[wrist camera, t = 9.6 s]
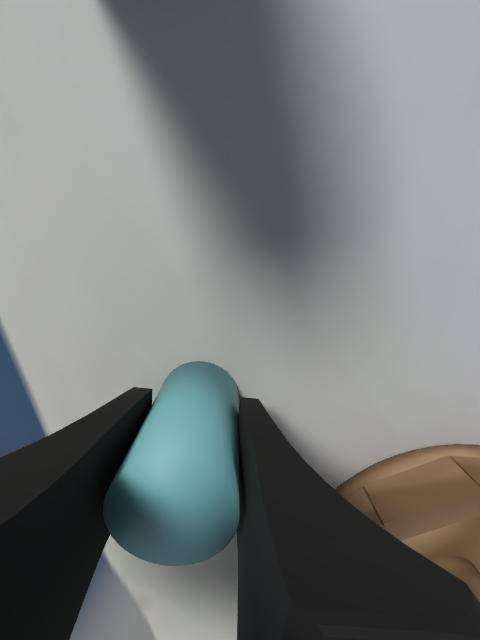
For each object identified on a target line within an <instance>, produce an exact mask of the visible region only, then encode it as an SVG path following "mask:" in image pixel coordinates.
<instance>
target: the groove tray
mask: <svg viewBox="0 0 480 640" xmlns="http://www.w3.org/2000/svg"><path fill="white" fill-rule="evenodd" d="M335 491H336V492H338V493H339V494H340V495H341V496H342V497H344V498H345V499H346V500H347V501H348V502H350V503H351V504H352V505H353V506H354V507H356V508H357V509H358V510H359V511H361V512H362V513H363V514H364V515H366V516H367V517H368V518H370V519H371V520H372V521H374V522H375V523H376V524H378V525H379V526H380V527H382V528H383V529H385V530H386V531H387V532H389V533H390V534H392V535H393V536H394V537H396V538H397V539H399V540H400V541H401V542H403V543H404V544H406V545H407V546H409V547H410V548H412V549H413V550H415V551H416V552H418V553H420V554H421V555H423V556H424V557H426V558H428V559H429V560H431V561H432V562H434V563H435V564H437V565H439V566H440V567H442V568H443V569H445V570H446V571H448V572H450V573H451V574H453V575H454V576H456V577H457V578H459V579H461V580H462V581H464V582H465V583H467V585H468V586H469V588H470V589H471V590H472V592H473V593H474V594H475V596H476V597H477V599H478V600H479V601H480V446H479V445H460V444H454V445H441V446H433V447H427V448H422V449H417V450H412V451H409V452H406V453H402V454H399V455H396V456H393V457H390V458H388V459H386V460H383V461H381V462H378V463H376V464H374V465H372V466H370V467H368V468H367V469H365V470H363V471H361V472H359V473H357V474H356V475H355V476H353V477H352V478H350V479H349V480H347V481H346V482H344V483H343V484H342V485H340V486H339V487H338V488H337V489H336V490H335Z"/></svg>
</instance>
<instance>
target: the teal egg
mask: <svg viewBox="0 0 480 640" xmlns="http://www.w3.org/2000/svg"><path fill="white" fill-rule="evenodd" d="M238 414H239V396H238V389H237V386H236V384H235V382H234V380H233V378H232V377H231V376H230V375H229V374H228V373H227V372H226V371H225V370H224V369H222V368H221V367H219V366H217V365H215V364H212V363H208V362H199V361H198V362H190V363H186V364H183V365H181V366H179V367H177V368H176V369H174V370H173V371H172V372H171V373H170V374H169V375H168V376H167V378H166V380H165V381H164V383H163V385H162V387H161V389H160V391H159V393H158V395H157V397H156V399H155V401H154V402H153V404H152V406H151V408H150V410H149V412H148V414H147V416H146V418H145V420H144V422H143V424H142V425H141V427H140V429H139V431H138V433H137V435H136V437H135V439H134V441H133V443H132V445H131V447H130V448H129V450H128V452H127V454H126V456H125V458H124V460H123V462H122V464H121V466H120V468H119V469H118V471H117V473H116V475H115V477H114V479H113V481H112V483H111V485H110V487H109V489H108V491H107V493H106V495H105V499H104V503H103V516H104V520H105V524H106V526H107V529H108V531H109V532H110V534H111V536H112V537H113V538H114V540H115V541H116V542H117V543H118V544H119V545H120V546H121V547H122V548H124V549H125V550H126V551H128V552H129V553H131V554H132V555H134V556H136V557H138V558H140V559H143V560H145V561H148V562H151V563H156V564H160V565H168V566H180V565H189V564H194V563H198V562H201V561H204V560H206V559H209V558H210V557H212V556H214V555H216V554H217V553H219V552H220V551H221V550H223V549H224V548H225V547H226V546H227V545H228V544H229V542H230V541H231V540H232V538H233V536H234V535H235V533H236V530H237V528H238V524H239V431H238Z"/></svg>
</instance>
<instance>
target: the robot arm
mask: <svg viewBox="0 0 480 640" xmlns="http://www.w3.org/2000/svg"><path fill="white" fill-rule="evenodd" d="M151 406H152V389H147V388H137V387H134V388H132V389H130V390H128V391H127V392H125V393H123V394H122V395H120V396H118V397H117V398H115V399H113V400H112V401H110V402H108V403H107V404H105V405H103V406H102V407H100V408H98V409H97V410H95V411H93V412H92V413H90V414H88V415H87V416H85V417H83V418H81V419H79V420H77V421H76V422H74V423H72V424H70V425H68V426H66V427H64V428H63V429H61V430H59V431H57V432H55V433H53V434H51V435H49V436H47V437H45V438H43V439H41V440H39V441H37V442H35V443H32V444H30V445H28V446H26V447H23V448H21V449H19V450H17V451H15V452H12V453H10V454H7V455H5V456H3V457H0V640H69V639H70V636H71V633H72V631H73V628H74V625H75V622H76V620H77V617H78V614H79V611H80V609H81V606H82V603H83V601H84V598H85V595H86V593H87V590H88V587H89V585H90V582H91V579H92V577H93V574H94V571H95V569H96V566H97V563H98V561H99V558H100V556H101V554H102V551H103V549H104V547H105V544H106V542H107V540H108V538H109V536H110V532H109V531H108V529H107V526H106V524H105V520H104V516H103V503H104V499H105V495H106V493H107V491H108V489H109V487H110V485H111V483H112V481H113V479H114V477H115V475H116V473H117V471H118V469H119V468H120V466H121V464H122V462H123V460H124V458H125V456H126V454H127V452H128V450H129V448H130V447H131V445H132V443H133V441H134V439H135V437H136V435H137V433H138V431H139V429H140V427H141V425H142V424H143V422H144V420H145V418H146V416H147V414H148V412H149V410H150V408H151ZM238 431H239V524H238V528H237V545H238V624H237V640H480V601H479V600H478V599H477V597H476V596H475V594H474V593H473V592H472V590H471V589H470V588H469V586H468V585H467V583H465V582H464V581H462V580H461V579H459V578H457V577H456V576H454V575H453V574H451V573H450V572H448V571H446V570H445V569H443V568H442V567H440V566H439V565H437V564H435V563H434V562H432V561H431V560H429V559H428V558H426V557H424V556H423V555H421V554H420V553H418V552H416V551H415V550H413V549H412V548H410V547H409V546H407V545H406V544H404V543H403V542H401V541H400V540H399V539H397V538H396V537H394V536H393V535H392V534H390V533H389V532H387V531H386V530H385V529H383V528H382V527H380V526H379V525H378V524H376V523H375V522H374V521H372V520H371V519H370V518H368V517H367V516H366V515H364V514H363V513H362V512H361V511H359V510H358V509H357V508H356V507H354V506H353V505H352V504H351V503H350V502H348V501H347V500H346V499H345V498H344V497H342V496H341V495H340V494H339V493H338V492H336V491H335V490H334V489H333V488H332V487H331V486H330V485H329V484H327V483H326V482H325V481H324V480H323V479H322V478H321V477H320V476H319V475H318V474H317V473H316V472H315V471H314V470H313V469H312V468H311V467H310V466H309V465H308V464H307V463H306V462H305V461H304V460H303V459H302V457H301V456H300V455H299V454H298V453H297V452H296V451H295V449H294V448H293V447H292V446H291V445H290V443H289V442H288V441H287V439H286V438H285V437H284V435H283V434H282V433H281V431H280V430H279V429H278V427H277V426H276V425H275V423H274V422H273V420H272V419H271V417H270V416H269V414H268V413H267V411H266V410H265V408H264V406H263V405H262V403H261V402H260V401H259V399H253V398H243V397H241V398H240V406H239V414H238Z"/></svg>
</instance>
